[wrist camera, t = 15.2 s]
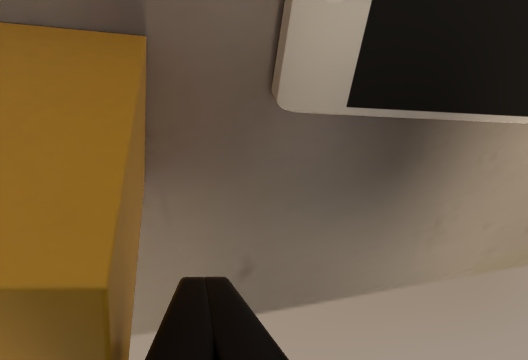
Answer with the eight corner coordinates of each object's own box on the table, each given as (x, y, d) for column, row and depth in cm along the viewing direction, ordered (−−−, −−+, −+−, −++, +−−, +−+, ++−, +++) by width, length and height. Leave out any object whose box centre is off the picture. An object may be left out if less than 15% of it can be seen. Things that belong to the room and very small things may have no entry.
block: (144, 181, 15) (116, 500, 7) (-16, 176, 14) (-237, 535, 6) (146, 35, 12) (107, 286, 5) (-46, 17, 12) (-449, 293, 4)
